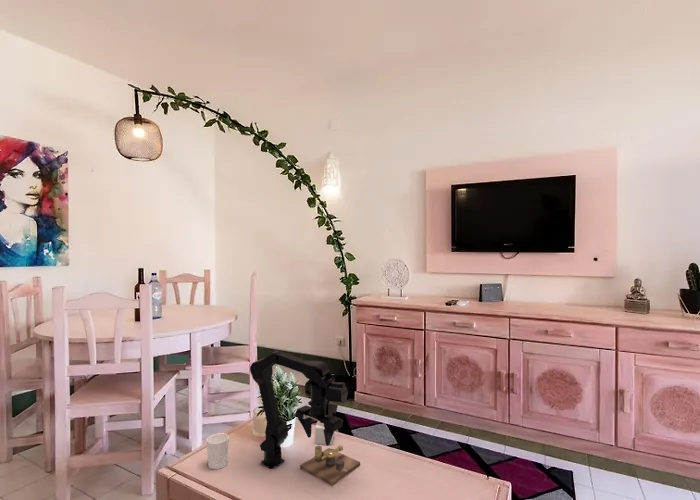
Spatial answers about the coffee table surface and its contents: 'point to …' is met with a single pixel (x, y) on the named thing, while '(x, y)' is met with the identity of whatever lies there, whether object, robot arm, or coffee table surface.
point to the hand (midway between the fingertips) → (318, 441)
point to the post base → (330, 468)
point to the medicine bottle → (321, 432)
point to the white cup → (217, 450)
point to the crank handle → (326, 453)
